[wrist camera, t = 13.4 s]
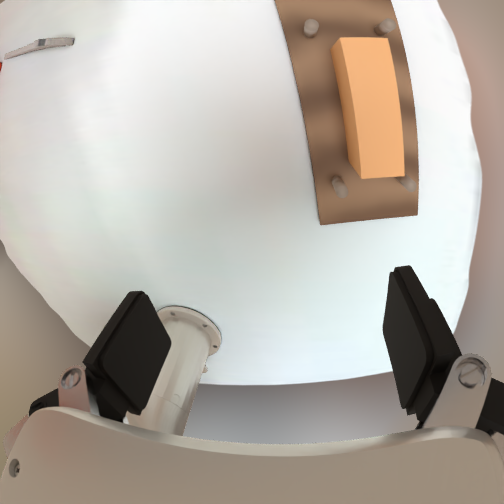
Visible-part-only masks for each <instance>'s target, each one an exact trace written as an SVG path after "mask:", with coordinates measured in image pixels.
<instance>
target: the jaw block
mask: <svg viewBox="0 0 504 504" xmlns="http://www.w3.org/2000/svg"><path fill="white" fill-rule="evenodd" d="M330 51H331V55H332V60H333V64H334V69H335V74H336V79H337V84H338V89H339V95H340V100H341V106H342V113H343V119H344V126H345V134H346V141H347V150H348V159H349V163H350V164H351V165H352V167H353V168H354V169H355V171H356V172H357V173H358V175H359V176H360V178H361V179H368V178H382V177H398V176H405V172H404V146H403V131H402V120H401V111H400V102H399V95H398V88H397V82H396V76H395V70H394V65H393V60H392V55H391V50H390V46H389V42H388V38H374V37H344V38H339V39H338V40H337V42H336V43H335V44H334V45H333V47H332V48H331V49H330Z"/></svg>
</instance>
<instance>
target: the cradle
mask: <svg viewBox="0 0 504 504" xmlns="http://www.w3.org/2000/svg"><path fill="white" fill-rule="evenodd" d="M275 3H276V6H277V10H278V13H279V16H280V20H281V23H282V27H283V30H284V34H285V38H286V41H287V45H288V49H289V53H290V57H291V61H292V65H293V69H294V74H295V78H296V82H297V87H298V91H299V96H300V101H301V106H302V111H303V116H304V121H305V126H306V132H307V137H308V143H309V149H310V155H311V161H312V167H313V174H314V181H315V188H316V195H317V203H318V211H319V219H320V225H327V224H336V223H345V222H355V221H364V220H374V219H384V218H394V217H405V216H415V215H418V189H419V166H418V140H417V126H416V116H415V107H414V99H413V91H412V85H411V79H410V73H409V68H408V63H407V58H406V53H405V49H404V44H403V40H402V36H401V33H400V29H399V25H398V22H397V18H396V15H395V12H394V9H393V6H392V3H391V0H275ZM344 37H374V38H388V42H389V46H390V50H391V55H392V60H393V65H394V70H395V76H396V82H397V88H398V95H399V102H400V111H401V120H402V131H403V146H404V172H405V176H398V177H382V178H368V179H361V178H360V176H359V175H358V173H357V172H356V171H355V169H354V168H353V167H352V165H351V164H350V163H349V159H348V150H347V141H346V134H345V126H344V119H343V113H342V106H341V100H340V95H339V89H338V84H337V79H336V74H335V69H334V64H333V60H332V55H331V51H330V49H331V48H332V47H333V45H334V44H335V43H336V42H337V40H338V39H339V38H344Z"/></svg>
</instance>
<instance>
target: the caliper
mask: <svg viewBox="0 0 504 504" xmlns="http://www.w3.org/2000/svg"><path fill="white" fill-rule="evenodd" d="M73 40H74V38H47V39H38V40H36V41H34V43H32V44H29V45H27V46H25V47H22V48H19V49H17V50H14V51H12V52H9V53H7V54H5V57H4V59H9V58H12V57H15V56H18V55H21V54H24V53H28V52H31V51H34V50H41V49H45V48H47V47H59V46H66V45H72V44H73Z"/></svg>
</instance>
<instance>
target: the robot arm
mask: <svg viewBox="0 0 504 504" xmlns="http://www.w3.org/2000/svg"><path fill="white" fill-rule="evenodd" d="M383 335H384V339H385V342H386V346H387V349H388V353H389V357H390V361H391V365H392V369H393V373H394V377H395V381H396V385H397V390H398V394H399V399H400V403H401V407H402V409H405V408H406V411H407V415H411V414H415V413H416V416H417V420H419V423H418V424H417V426H416V428H415V430H412V431H406V432H401V433H395V434H388V435H383V436H377V437H371V438H364V439H356V440H347V441H338V442H327V443H313V444H248V443H233V442H221V441H212V440H204V439H197V438H190V437H184V436H183V433H184V429H185V426H186V422H187V419H188V416H189V413H190V410H191V406H192V403H193V400H194V397H195V393H196V390H197V387H198V384H199V381H200V378H201V375H202V373H205V372H207V371H208V368H207V367H206V365H205V363H206V360H207V357H208V356H210V355H212V354H214V353H216V352H217V351H218V349H219V347H220V344H221V334H220V332H219V330H218V329H217V327H216V326H215V325H214V324H213V323H212V322H211V321H210V320H209V319H208V318H206V317H205V316H203V315H202V314H200V313H198V312H196V311H193V310H191V309H187V308H183V307H172V306H171V307H165V308H163V309H161V310H159V311H158V312H156V310H155V308H154V306H153V304H152V303H151V301H150V298H149V297H148V295H146V294H145V293H144V292H143V291H131V292H129V293H128V294H127V296H126V297H125V298H124V300H123V301H122V303H121V304H120V305H119V307H118V308H117V310H116V311H115V313H114V314H113V316H112V317H111V319H110V320H109V321H108V323H107V324H106V326H105V327H104V329H103V330H102V332H101V333H100V335H99V337H98V338H97V340H96V341H95V343H94V344H93V346H92V347H91V349H90V351H89V352H88V354H87V355H86V357H85V359H84V361H83V363H84V365H85V366H86V369H85V370H84V368H82V366H79V365H74V366H71V367H69V368H67V369H66V370H65V371H64V372H63V373H62V375H61V376H60V378H59V382H58V388H57V389H55V390H54V391H52V392H50V393H48V394H46V395H44V396H42V397H40V398H38V399H37V400H35V401H34V402H33V403H32V404H31V406H30V410H29V415H28V414H27V415H26V416H25V417H24V418H23V419H22V420H20V421H19V422H18V423H17V424H16V425H15V426H14V427H13V428H12V429H11V430H10V431H9V432H7V434H6V435H5V437H4V441H3V445H4V449H5V453H6V456H7V459H8V460H7V462H6V465H5V468H4V470H3V473H2V476H1V479H0V504H504V383H502V382H500V381H498V380H495V379H493V378H491V374H492V373H491V368H490V366H489V364H488V362H487V361H486V360H485V359H484V358H483V357H481V356H479V355H477V354H472V353H471V354H464V355H462V354H461V352H460V349H459V347H458V345H457V343H456V340H455V338H454V336H453V334H452V332H451V330H450V328H449V326H448V324H447V322H446V320H445V318H444V316H443V314H442V312H441V310H440V308H439V307H438V305H437V303H436V301H435V300H434V299H432V298H431V299H429V297H428V295H427V293H426V291H425V290H424V288H423V286H422V284H421V282H420V281H419V279H418V277H417V276H416V274H415V272H414V270H413V269H412V267H411V266H409V265H408V266H401V267H396V268H395V269H394V272H390V275H389V284H388V293H387V301H386V308H385V315H384V321H383Z"/></svg>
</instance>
